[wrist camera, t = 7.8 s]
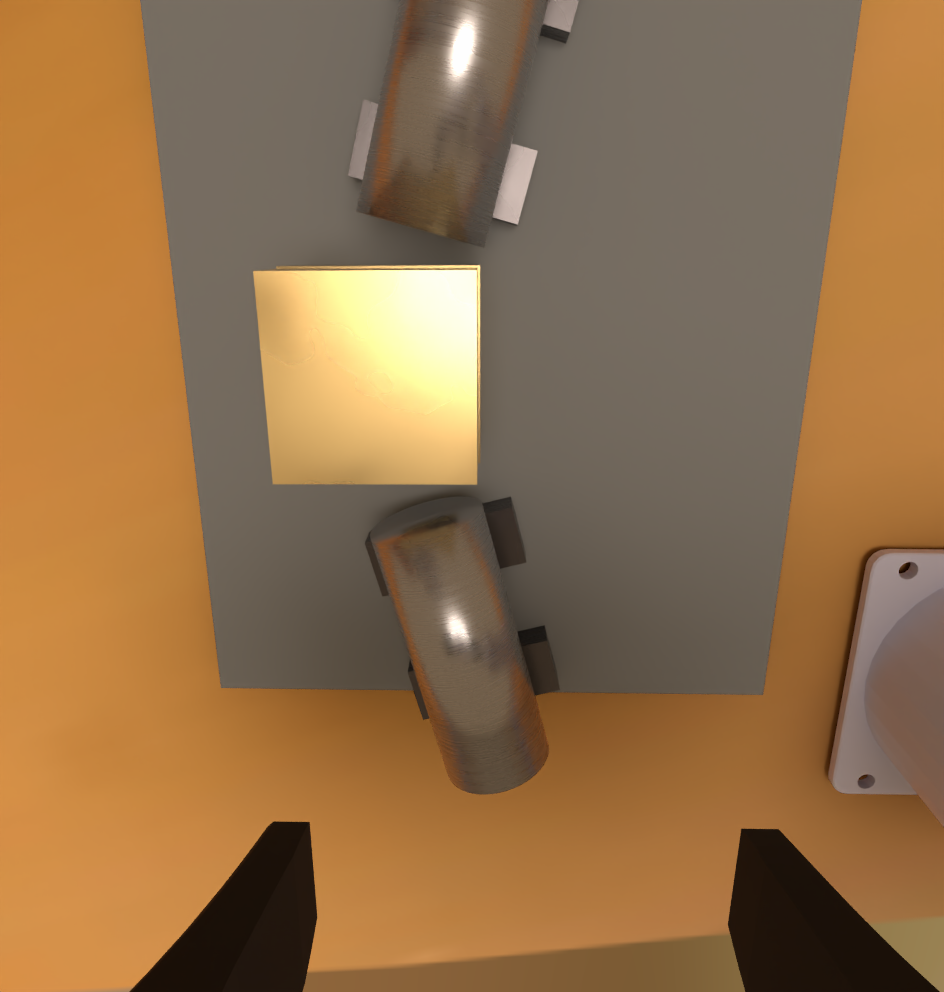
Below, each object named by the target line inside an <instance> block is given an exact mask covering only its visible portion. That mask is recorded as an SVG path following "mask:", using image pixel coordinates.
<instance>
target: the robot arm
mask: <svg viewBox="0 0 944 992" xmlns="http://www.w3.org/2000/svg"><path fill="white" fill-rule="evenodd" d="M907 562H910V563H911V565H910V567H909V569H908V570H907V571H906V572H904V573H900V574H899V569H900V567H901V566H902V565H903V564H904V563H907ZM866 774H868V776H867V777H866V778H864V779H862V780H858V779H859V778H860V777H861V776H863V775H866ZM828 776H829V780H830V782H831V783H832V785H833V786H834V788H835V789H836V790H837V791H839V792H840V793H845V794H897V795H918V796H919V797H920V798H921V799H922V801H923V802H924V803H925V804H926V806H927V807H928V808H929V809H930V811H931V812H932V813H933V815H934V816H935V817H936V818H937V820H938V821H939V822H940V823H941V825H942V826H943V827H944V549H884V550H879V551H877V552H876V553H874V554H873V555H872V556H871V557H870V558H869V559H868V561H867V564H866V568H865V573H864V579H863V584H862V590H861V595H860V601H859V607H858V612H857V618H856V623H855V629H854V634H853V640H852V645H851V651H850V656H849V662H848V667H847V673H846V678H845V684H844V690H843V695H842V701H841V706H840V712H839V717H838V723H837V728H836V734H835V739H834V745H833V750H832V756H831V762H830V767H829V773H828ZM316 921H317V909H316V896H315V884H314V871H313V859H312V847H311V834H310V822H273V823H271V824H270V825H269V826H268V827H267V828H266V830H265V831H264V832H263V834H262V835H261V837H260V838H259V839H258V841H257V842H256V843H255V845H254V846H253V847H252V849H251V850H250V851H249V853H248V854H247V855H246V857H245V858H244V859H243V861H242V862H241V863H240V865H239V866H238V867H237V868H236V870H235V871H234V872H233V874H232V875H231V876H230V877H229V879H228V880H227V881H226V883H225V884H224V885H223V886H222V888H221V889H220V890H219V891H218V893H217V894H216V895H215V896H214V897H213V899H212V900H211V901H210V902H209V903H208V905H207V906H206V907H205V908H204V909H203V911H202V912H201V913H200V914H199V915H198V917H197V918H196V919H195V920H194V922H193V923H192V924H191V925H190V926H189V927H188V929H187V930H186V931H185V932H184V933H183V934H182V935H181V937H180V938H179V939H178V940H177V941H176V942H175V943H174V944H173V945H172V947H171V948H170V949H169V950H168V951H167V952H166V953H165V954H164V955H163V956H162V958H161V959H160V960H159V961H158V962H157V963H156V964H155V965H154V966H153V967H152V969H151V970H150V971H149V972H148V973H147V974H146V975H145V976H144V977H143V978H142V979H141V980H140V981H139V982H138V983H137V984H136V985H135V986H134V988H133V989H132V990H131V991H130V992H302V991H303V987H304V984H305V979H306V974H307V969H308V964H309V959H310V954H311V949H312V943H313V938H314V932H315V926H316ZM728 927H729V931H730V935H731V938H732V943H733V947H734V950H735V955H736V959H737V962H738V966H739V970H740V973H741V977H742V981H743V984H744V987H745V992H939V991H938V990H937V989H936V988H935V987H934V986H933V985H931V983H929V981H927V980H926V979H925V978H924V977H923V976H922V975H921V974H920V973H919V972H918V971H917V970H915V969H914V968H913V967H912V966H911V965H910V964H909V963H908V962H907V961H906V960H905V959H904V958H902V956H900V955H899V954H898V953H897V952H896V951H895V950H894V949H893V948H892V947H891V946H890V945H889V944H888V943H887V942H886V941H885V940H884V939H883V938H882V937H881V936H880V935H879V934H878V933H877V932H876V931H875V930H874V929H873V928H872V927H871V926H870V925H869V924H868V923H867V922H866V921H865V920H864V919H863V918H862V917H861V916H860V915H859V914H858V913H857V912H856V911H855V910H854V909H853V908H852V907H851V906H850V905H849V903H848V902H847V901H846V900H845V899H844V898H843V897H842V896H841V895H840V894H839V893H838V892H837V891H836V890H835V889H834V888H833V887H832V886H831V885H830V884H829V882H828V881H827V880H826V879H825V878H824V877H823V876H822V875H821V874H820V873H819V872H818V871H817V870H816V869H815V868H814V867H813V865H812V864H811V863H810V862H809V861H808V860H807V859H806V858H805V857H804V856H803V855H802V854H801V853H800V852H799V850H798V849H797V848H796V847H795V846H794V845H793V844H792V843H791V842H790V841H789V840H788V839H787V838H786V837H785V836H784V835H783V834H782V832H781V831H780V830H779V829H741V836H740V843H739V850H738V857H737V864H736V871H735V878H734V885H733V892H732V899H731V906H730V913H729V921H728Z"/></svg>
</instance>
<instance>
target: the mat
mask: <svg viewBox="0 0 944 992" xmlns="http://www.w3.org/2000/svg"><path fill="white" fill-rule="evenodd" d="M140 2H141V10H142V19H143V27H144V36H145V44H146V53H147V61H148V70H149V78H150V87H151V95H152V104H153V112H154V121H155V129H156V138H157V146H158V155H159V163H160V172H161V180H162V189H163V198H164V206H165V215H166V223H167V232H168V240H169V249H170V257H171V266H172V274H173V283H174V291H175V300H176V308H177V317H178V325H179V334H180V342H181V351H182V359H183V368H184V376H185V385H186V393H187V402H188V410H189V419H190V427H191V436H192V444H193V453H194V462H195V470H196V479H197V487H198V496H199V504H200V513H201V521H202V530H203V538H204V547H205V555H206V564H207V572H208V581H209V589H210V598H211V606H212V615H213V623H214V632H215V640H216V649H217V657H218V666H219V674H220V683H221V688H269V689H347V690H413V687H412V684H411V681H410V678H409V675H408V667H409V661H410V657H409V654H408V651H407V648H406V645H405V642H404V639H403V636H402V633H401V630H400V627H399V624H398V621H397V618H396V615H395V612H394V608H393V605H392V602H391V599H390V596H389V595H387V596H383V597H382V594H381V591H380V588H379V585H378V582H377V579H376V576H375V573H374V570H373V567H372V564H371V561H370V558H369V555H368V552H367V549H366V546H365V541H366V539H367V536H368V534H369V532H370V531H372V530H373V529H374V527H375V526H376V525H378V524H379V523H380V522H381V521H383V520H384V519H386V518H388V517H389V516H391V515H393V514H395V513H397V512H399V511H402V510H404V509H406V508H409V507H412V506H415V505H417V504H421V503H424V502H428V501H432V500H436V499H441V498H448V497H461V496H463V497H473V498H476V499H478V500H480V501H481V502H482V503H486V502H490V501H494V500H499V499H503V498H507V497H511V498H512V502H513V506H514V510H515V514H516V517H517V521H518V525H519V529H520V533H521V537H522V540H523V544H524V548H525V554H526V562H527V563H523V564H519V565H514V566H510V567H506V568H502V569H500V570H501V574H502V578H503V581H504V585H505V589H506V592H507V596H508V599H509V603H510V607H511V610H512V614H513V618H514V621H515V625H516V628H517V631H521V630H526V629H530V628H534V627H539V626H543V625H545V628H546V632H547V636H548V640H549V643H550V647H551V651H552V655H553V659H554V662H555V666H556V670H557V675H558V681H559V687H560V690H557V691H553V692H582V693H660V694H738V695H763V692H764V684H765V677H766V670H767V663H768V656H769V649H770V642H771V635H772V628H773V621H774V614H775V607H776V600H777V593H778V586H779V579H780V572H781V565H782V558H783V551H784V544H785V537H786V530H787V523H788V516H789V509H790V502H791V495H792V488H793V481H794V474H795V467H796V460H797V453H798V446H799V439H800V432H801V425H802V418H803V411H804V404H805V397H806V390H807V383H808V376H809V369H810V362H811V355H812V348H813V341H814V334H815V326H816V319H817V312H818V305H819V298H820V291H821V284H822V277H823V270H824V263H825V256H826V249H827V242H828V235H829V228H830V221H831V214H832V207H833V200H834V193H835V186H836V179H837V172H838V165H839V158H840V151H841V144H842V137H843V130H844V123H845V116H846V109H847V102H848V95H849V88H850V81H851V74H852V67H853V60H854V53H855V46H856V39H857V32H858V25H859V18H860V11H861V4H862V0H579V1H578V5H577V9H576V12H575V16H574V20H573V23H572V27H571V31H570V34H569V36H568V39H567V42H566V43H563V42H560V41H557V40H553V39H550V38H547V37H544V36H540V37H539V41H538V45H537V48H536V52H535V56H534V60H533V64H532V67H531V71H530V75H529V79H528V83H527V87H526V90H525V94H524V98H523V102H522V106H521V109H520V113H519V117H518V121H517V125H516V129H515V132H514V136H513V140H512V144H516V145H519V146H523V147H526V148H529V149H533V150H536V151H538V152H537V156H536V159H535V163H534V167H533V170H532V174H531V178H530V181H529V185H528V189H527V192H526V196H525V200H524V203H523V207H522V211H521V214H520V218H519V222H518V225H517V226H515V225H512V224H508V223H505V222H502V221H498V220H495V219H492V220H491V224H490V228H489V232H488V236H487V239H486V243H485V247H484V248H482V247H478V246H475V245H471V244H468V243H464V242H461V241H457V240H454V239H450V238H447V237H443V236H440V235H436V234H433V233H429V232H426V231H422V230H419V229H415V228H412V227H408V226H405V225H401V224H398V223H394V222H391V221H387V220H384V219H380V218H377V217H373V216H370V215H366V214H363V213H359V212H356V209H357V205H358V200H359V195H360V190H361V185H362V181H359V180H356V179H353V178H351V177H350V176H348V173H349V168H350V163H351V158H352V153H353V148H354V143H355V138H356V133H357V128H358V123H359V118H360V113H361V108H362V103H363V100H367V101H370V102H374V103H377V104H378V103H379V98H380V93H381V89H382V84H383V79H384V74H385V69H386V65H387V60H388V55H389V50H390V45H391V40H392V36H393V31H394V26H395V21H396V16H397V11H398V7H399V2H400V0H140ZM287 265H480V299H481V457H480V463H478V475H477V485H450V484H273V482H272V471H271V460H270V449H269V438H268V427H267V416H266V405H265V395H264V384H263V373H262V362H261V351H260V340H259V329H258V318H257V307H256V297H255V286H254V275H253V271H258V270H270V269H276V266H287Z"/></svg>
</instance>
